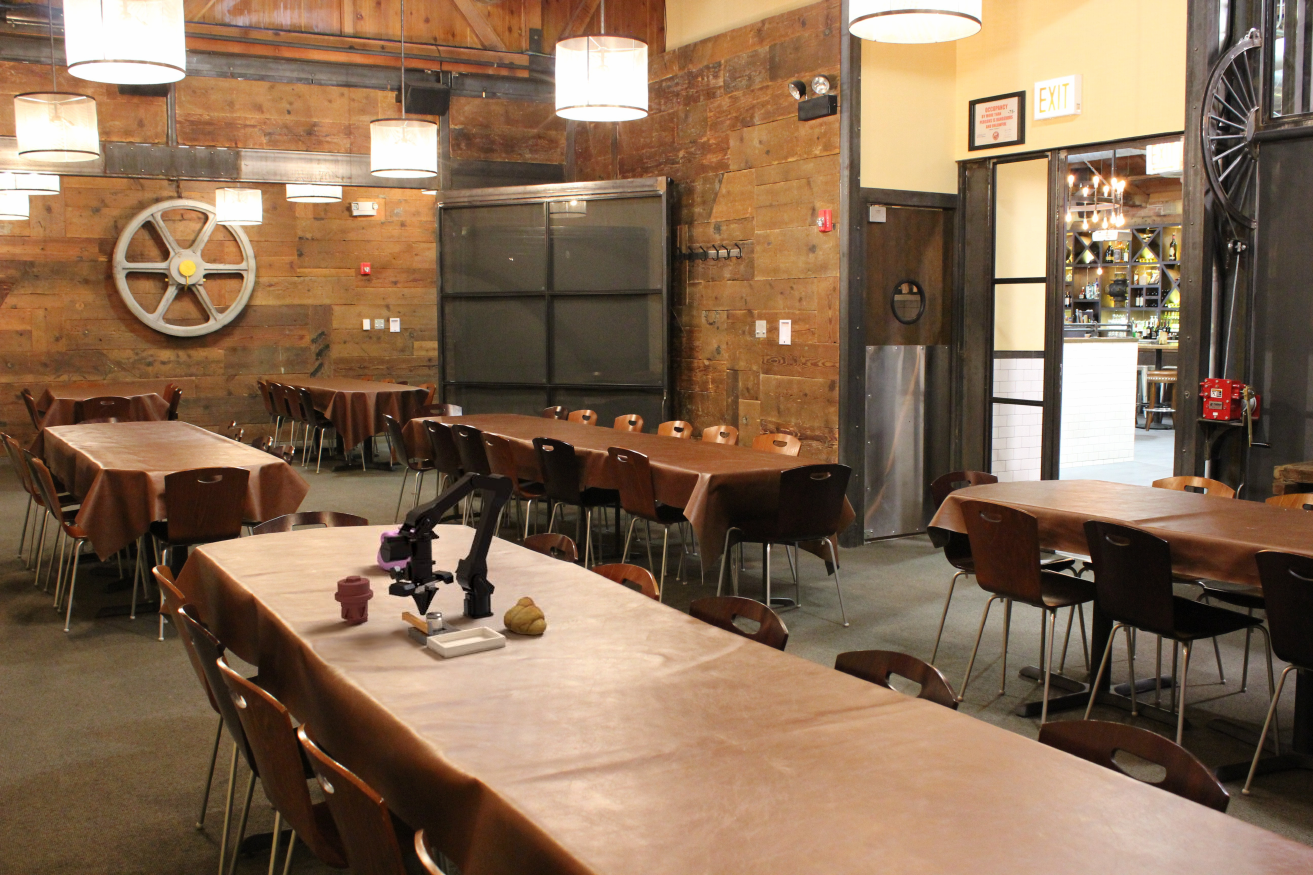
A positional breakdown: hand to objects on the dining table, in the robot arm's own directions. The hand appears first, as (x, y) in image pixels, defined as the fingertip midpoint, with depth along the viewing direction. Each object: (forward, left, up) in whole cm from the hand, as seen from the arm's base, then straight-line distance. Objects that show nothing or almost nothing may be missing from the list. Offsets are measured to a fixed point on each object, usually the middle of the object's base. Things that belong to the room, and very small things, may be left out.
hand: (422, 615), depth 284 cm
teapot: (-24, -68, -3) cm, 72 cm away
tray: (-2, +23, -3) cm, 23 cm away
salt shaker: (+1, +10, -3) cm, 11 cm away
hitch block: (+1, +10, -3) cm, 11 cm away
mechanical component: (+13, -15, -3) cm, 20 cm away
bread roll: (-20, +20, -3) cm, 28 cm away
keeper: (+4, +7, -1) cm, 8 cm away
